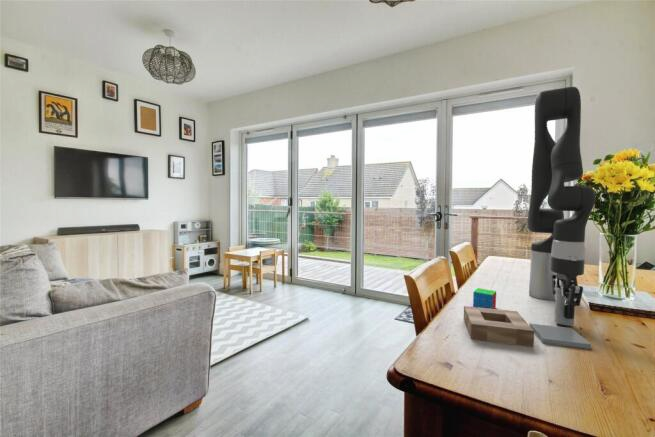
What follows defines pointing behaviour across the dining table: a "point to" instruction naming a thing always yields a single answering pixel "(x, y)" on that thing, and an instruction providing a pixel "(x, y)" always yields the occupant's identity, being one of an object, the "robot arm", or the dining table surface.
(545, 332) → the coaster
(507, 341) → the socket block
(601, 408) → the dining table surface
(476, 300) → the puzzle toy
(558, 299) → the grey hollow tube
